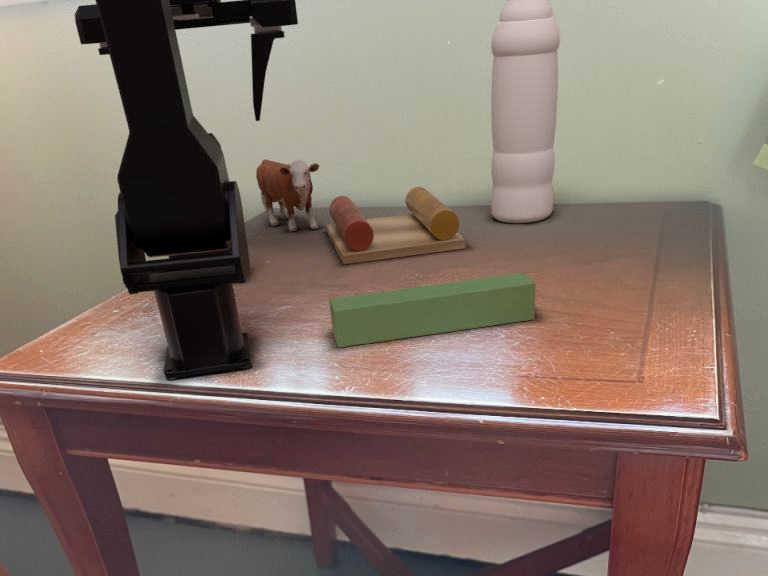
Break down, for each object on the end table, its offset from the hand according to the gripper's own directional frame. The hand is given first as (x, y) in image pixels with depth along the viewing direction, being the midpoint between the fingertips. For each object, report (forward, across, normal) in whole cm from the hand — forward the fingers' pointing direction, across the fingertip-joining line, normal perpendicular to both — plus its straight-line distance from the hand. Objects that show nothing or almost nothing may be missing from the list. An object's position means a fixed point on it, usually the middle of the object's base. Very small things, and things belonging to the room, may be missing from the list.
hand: (209, 125), depth 72 cm
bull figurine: (+14, -7, -16) cm, 22 cm away
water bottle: (+14, -33, -8) cm, 37 cm away
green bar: (+14, -16, +23) cm, 32 cm away
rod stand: (+14, -17, -5) cm, 23 cm away
